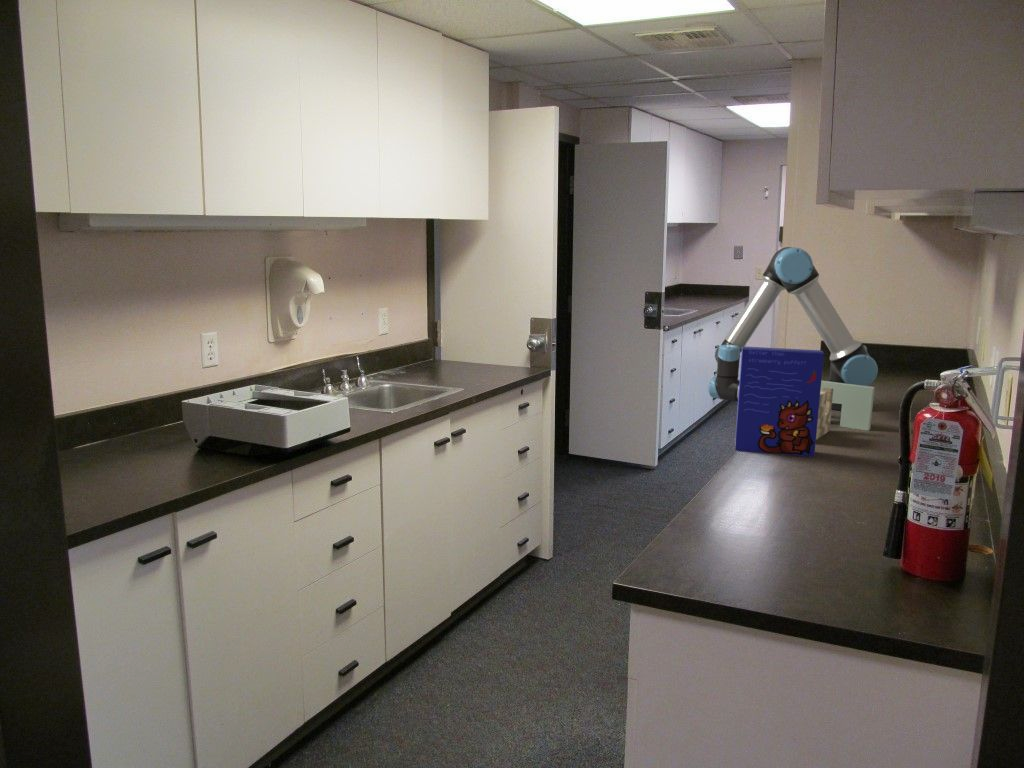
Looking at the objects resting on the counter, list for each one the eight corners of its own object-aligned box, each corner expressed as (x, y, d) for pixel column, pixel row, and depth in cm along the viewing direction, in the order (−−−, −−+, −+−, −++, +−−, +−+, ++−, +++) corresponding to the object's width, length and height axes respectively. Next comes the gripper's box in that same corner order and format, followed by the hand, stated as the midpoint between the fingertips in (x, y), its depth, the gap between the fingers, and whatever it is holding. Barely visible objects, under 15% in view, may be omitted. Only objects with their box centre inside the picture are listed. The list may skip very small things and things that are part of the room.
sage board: (799, 420, 277) (803, 379, 275) (801, 418, 279) (805, 378, 277) (868, 430, 265) (872, 388, 262) (870, 429, 267) (874, 387, 264)
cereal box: (811, 451, 239) (821, 349, 233) (814, 456, 233) (823, 352, 228) (734, 445, 244) (742, 345, 238) (735, 450, 238) (742, 348, 233)
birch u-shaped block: (821, 429, 265) (825, 387, 262) (829, 430, 263) (833, 388, 261) (802, 442, 249) (806, 397, 246) (810, 443, 248) (814, 398, 245)
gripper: (764, 397, 297) (824, 406, 285) (738, 409, 278) (802, 419, 265) (766, 377, 296) (826, 385, 284) (740, 387, 276) (804, 396, 264)
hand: (815, 401), depth 274 cm, fingers open, 13 cm apart
